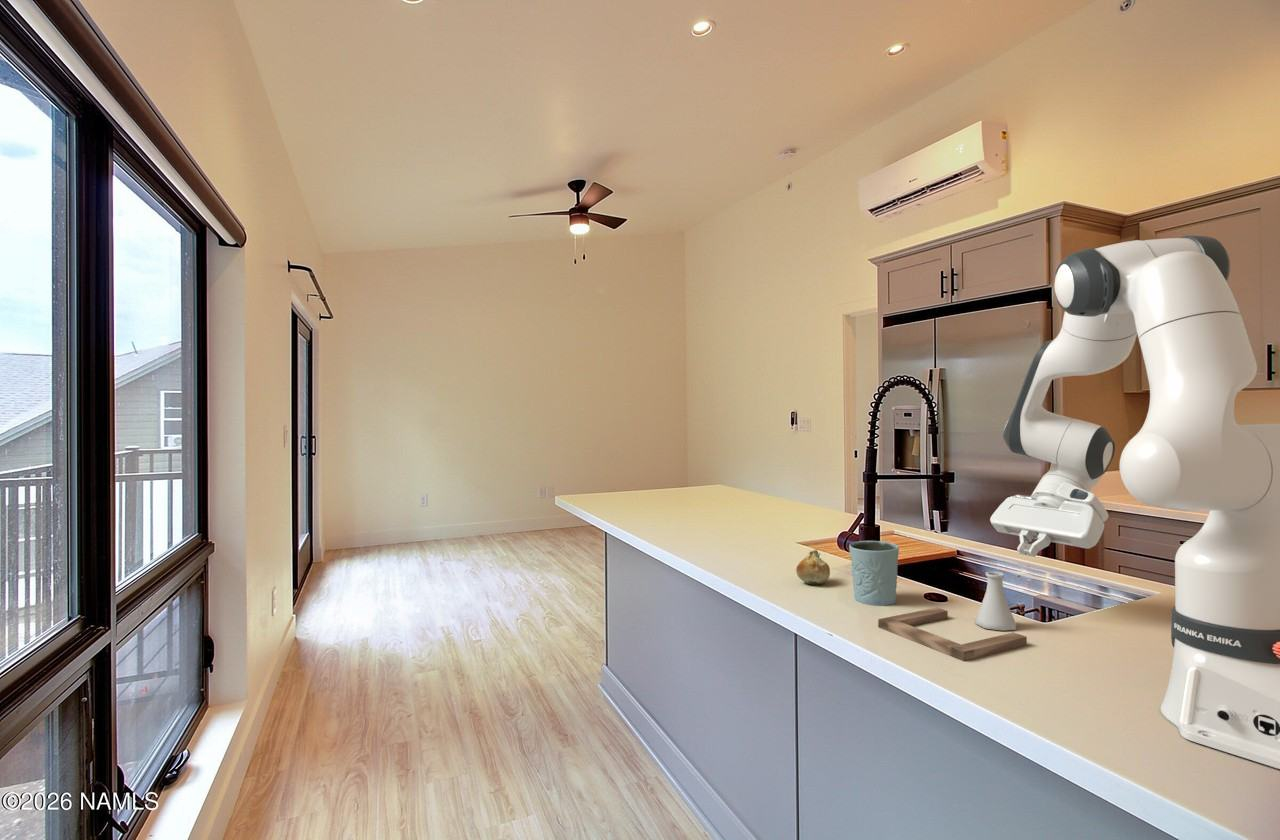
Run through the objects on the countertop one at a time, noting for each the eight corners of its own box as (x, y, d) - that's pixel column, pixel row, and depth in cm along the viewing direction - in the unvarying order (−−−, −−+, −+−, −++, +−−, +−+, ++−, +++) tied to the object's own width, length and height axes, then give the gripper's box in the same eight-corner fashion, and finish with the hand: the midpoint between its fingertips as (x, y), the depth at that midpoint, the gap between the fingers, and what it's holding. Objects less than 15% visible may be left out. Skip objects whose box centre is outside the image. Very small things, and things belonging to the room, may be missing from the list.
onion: (790, 581, 159) (789, 548, 159) (820, 578, 161) (819, 546, 161) (805, 589, 152) (804, 555, 152) (836, 586, 154) (835, 552, 154)
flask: (1023, 633, 120) (1022, 579, 120) (980, 631, 122) (980, 577, 122) (1009, 620, 127) (1008, 569, 127) (969, 618, 129) (968, 568, 129)
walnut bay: (1026, 645, 114) (1026, 636, 114) (963, 661, 108) (963, 651, 108) (937, 614, 131) (937, 607, 131) (878, 626, 125) (878, 619, 125)
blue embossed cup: (902, 596, 145) (901, 542, 144) (896, 609, 136) (895, 551, 135) (854, 591, 149) (853, 539, 149) (846, 603, 140) (845, 548, 140)
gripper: (1002, 484, 140) (971, 534, 137) (1103, 495, 122) (1069, 553, 118) (1017, 503, 142) (986, 553, 139) (1118, 517, 124) (1085, 575, 120)
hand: (1025, 553), depth 128 cm, fingers closed
